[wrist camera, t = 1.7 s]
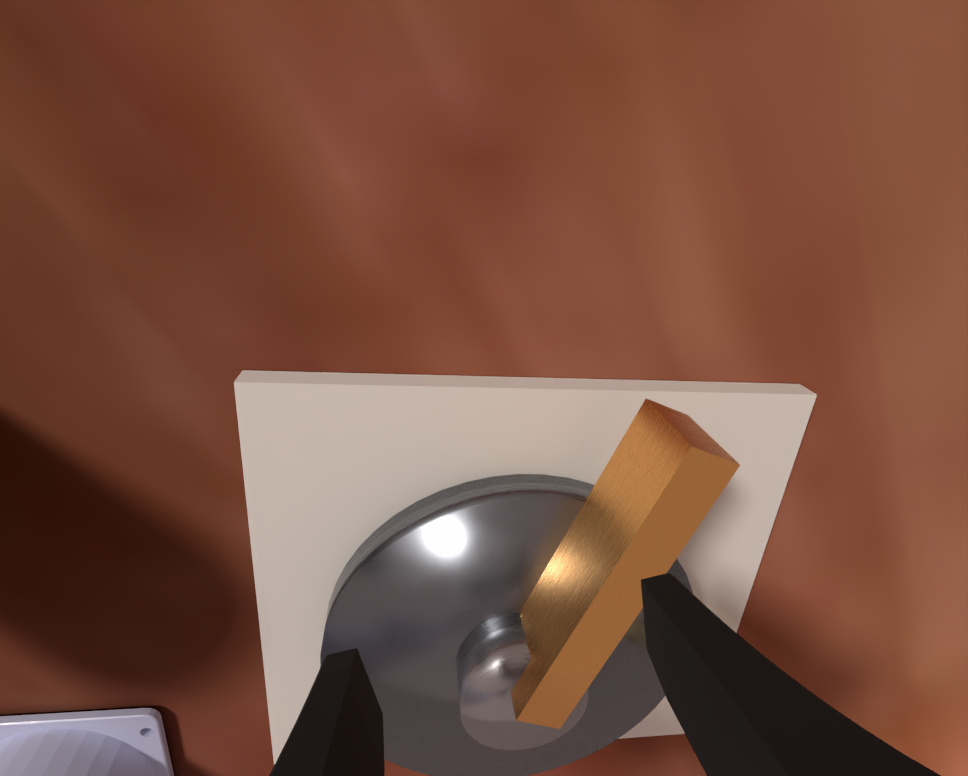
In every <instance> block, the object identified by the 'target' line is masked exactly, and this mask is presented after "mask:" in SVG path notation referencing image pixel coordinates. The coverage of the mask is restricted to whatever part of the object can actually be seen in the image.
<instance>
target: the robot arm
mask: <svg viewBox="0 0 968 776" xmlns="http://www.w3.org/2000/svg"><path fill="white" fill-rule="evenodd" d="M641 590H642V601H643V613H644V624H645V635H646V647H647V651H648V654H649V656H650V659H651V661H652V664H653V666H654V669H655V671H656V674H657V676H658V679H659V681H660V683H661V686H662V688H663V691H664V693H665V696H666V698H667V700H668V702H669V704H670V706H671V708H672V710H673V712H674V714H675V716H676V717H677V719H678V721H679V723H680V725H681V727H682V729H683V731H684V733H685V735H686V737H687V738H688V740H689V742H690V744H691V746H692V748H693V750H694V752H695V754H696V755H697V757H698V759H699V761H700V763H701V765H702V767H703V769H704V771H705V772H706V774H707V776H940V775H939V774H937V773H935V772H934V771H932V770H930V769H928V768H927V767H925V766H923V765H921V764H920V763H918V762H916V761H915V760H913V759H911V758H909V757H908V756H906V755H904V754H903V753H901V752H899V751H898V750H896V749H895V748H893V747H892V746H890V745H888V744H887V743H885V742H884V741H882V740H881V739H879V738H878V737H876V736H874V735H873V734H871V733H870V732H868V731H867V730H865V729H863V728H862V727H861V726H859V725H858V724H856V723H855V722H853V721H852V720H850V719H849V718H847V717H846V716H844V715H843V714H841V713H840V712H838V711H837V710H835V709H834V708H833V707H831V706H830V705H828V704H827V703H825V702H824V701H823V700H821V699H820V698H818V697H817V696H816V695H814V694H813V693H812V692H810V691H809V690H807V689H806V688H805V687H803V686H802V685H801V684H799V683H798V682H797V681H796V680H794V679H793V678H792V677H790V676H789V675H788V674H786V673H785V672H784V671H782V670H781V669H780V668H779V667H777V666H776V665H775V664H773V663H772V662H771V661H770V660H768V659H767V658H766V657H765V656H763V655H762V654H761V653H760V652H759V651H757V650H756V649H755V648H754V647H753V646H751V645H750V644H749V643H748V642H747V641H745V640H744V639H743V638H742V637H741V636H739V635H738V634H737V633H736V632H735V631H733V630H732V629H731V628H730V627H729V626H728V625H727V624H725V623H724V622H723V621H722V620H721V619H720V618H719V617H718V616H716V615H715V614H714V613H713V612H712V611H711V610H710V609H709V608H707V607H706V606H705V605H704V604H703V603H702V602H701V601H700V600H699V599H698V598H697V597H696V596H695V595H693V594H692V593H691V592H690V591H689V590H688V589H687V588H686V587H685V586H684V585H683V584H682V583H681V582H680V581H679V580H678V579H677V578H676V577H675V576H673V575H672V574H670V573H666V574H662V575H657V576H653V577H649V578H645V579H641ZM0 776H174V773H173V768H172V764H171V759H170V754H169V750H168V745H167V740H166V736H165V731H164V726H163V722H162V717H161V714H160V712H159V711H157V710H156V709H153V708H133V709H116V710H99V711H82V712H65V713H48V714H31V715H14V716H0ZM269 776H384V731H383V713H382V710H381V708H380V705H379V703H378V700H377V698H376V695H375V693H374V690H373V687H372V685H371V682H370V680H369V677H368V675H367V672H366V670H365V667H364V665H363V662H362V660H361V657H360V654H359V652H358V649H357V648H354V649H350V650H346V651H341V652H337V653H333V654H329V655H327V656H326V658H325V659H324V660H323V663H322V665H321V667H320V670H319V672H318V674H317V676H316V679H315V681H314V683H313V686H312V688H311V690H310V692H309V695H308V697H307V699H306V701H305V703H304V706H303V708H302V710H301V712H300V714H299V716H298V718H297V721H296V723H295V725H294V727H293V729H292V731H291V733H290V735H289V737H288V739H287V741H286V743H285V745H284V747H283V749H282V751H281V753H280V755H279V757H278V759H277V761H276V763H275V765H274V767H273V769H272V771H271V773H270V775H269Z"/></svg>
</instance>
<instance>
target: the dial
mask: <svg viewBox="0 0 968 776" xmlns="http://www.w3.org/2000/svg"><path fill="white" fill-rule="evenodd" d="M739 466H740V464H739V463H738V462H737V461H736V460H735V459H734V458H733V457H731V456H730V455H729V454H728V453H727V452H726V451H725V450H724V449H723V448H722V447H721V446H720V445H719V444H718V443H717V442H716V441H715V440H714V439H713V438H712V437H711V436H709V435H708V434H707V433H706V432H705V431H704V430H703V429H702V428H701V427H700V426H699V425H698V424H697V423H696V422H695V421H694V420H693V419H692V418H691V417H690V416H689V415H687V414H684V413H682V412H679V411H677V410H674V409H672V408H669V407H667V406H664V405H661V404H659V403H656V402H654V401H651V400H649V399H645V401H644V402H643V404H642V406H641V408H640V409H639V411H638V413H637V414H636V416H635V418H634V419H633V421H632V423H631V424H630V426H629V428H628V430H627V431H626V433H625V435H624V436H623V438H622V440H621V441H620V443H619V445H618V446H617V448H616V450H615V452H614V453H613V455H612V457H611V458H610V460H609V462H608V463H607V465H606V467H605V468H604V470H603V472H602V474H601V475H600V477H599V479H598V480H597V482H596V484H595V485H593V484H590V483H587V482H583V481H579V480H575V479H571V478H567V477H559V476H552V475H545V474H513V475H502V476H492V477H487V478H483V479H478V480H473V481H468V482H465V483H462V484H459V485H456V486H452V487H449V488H446V489H443V490H440V491H438V492H436V493H434V494H432V495H430V496H427V497H425V498H423V499H421V500H419V501H417V502H415V503H413V504H412V505H410V506H408V507H407V508H405V509H403V510H402V511H400V512H399V513H397V514H395V515H394V516H393V517H391V518H390V519H389V520H388V521H386V522H385V523H384V524H382V525H381V526H380V527H379V528H377V529H376V530H375V531H374V532H373V533H372V534H371V535H370V536H369V537H368V538H367V539H366V540H365V541H364V542H363V543H362V544H361V545H360V546H359V547H358V549H357V550H356V552H355V553H354V554H353V556H352V557H351V558H350V560H349V561H348V562H347V564H346V565H345V567H344V569H343V571H342V572H341V574H340V576H339V578H338V580H337V582H336V584H335V587H334V590H333V593H332V595H331V598H330V601H329V606H328V612H327V618H326V623H325V629H324V635H323V641H322V647H321V653H320V665H322V663H323V660H324V659H325V658H326V656H327V655H329V654H333V653H337V652H341V651H346V650H350V649H354V648H357V649H358V652H359V654H360V657H361V660H362V662H363V665H364V667H365V670H366V672H367V675H368V677H369V680H370V682H371V685H372V687H373V690H374V693H375V695H376V698H377V700H378V703H379V705H380V708H381V710H382V713H383V731H384V759H385V760H388V761H390V762H392V763H394V764H397V765H399V766H401V767H404V768H407V769H410V770H413V771H416V772H419V773H423V774H428V775H432V776H526V775H530V774H535V773H539V772H543V771H547V770H550V769H554V768H557V767H560V766H563V765H566V764H569V763H571V762H574V761H576V760H578V759H581V758H583V757H585V756H588V755H590V754H592V753H594V752H596V751H597V750H599V749H601V748H603V747H605V746H607V745H609V744H610V743H612V742H613V741H615V740H616V739H618V738H620V737H621V736H623V735H624V734H626V733H627V732H628V731H629V730H631V729H632V728H633V727H635V726H636V725H637V724H638V723H640V722H641V721H642V720H643V719H644V718H645V717H646V716H647V715H648V714H649V713H650V712H651V711H653V710H654V709H655V708H656V706H657V705H658V704H659V703H660V702H661V701H662V699H663V698H664V697H665V693H664V691H663V688H662V686H661V683H660V681H659V679H658V676H657V674H656V671H655V669H654V666H653V664H652V661H651V659H650V656H649V654H648V651H647V647H646V635H645V624H644V613H643V601H642V590H641V579H645V578H649V577H653V576H657V575H662V574H666V573H670V574H672V575H673V576H675V577H676V578H677V579H678V580H679V581H680V582H681V583H682V584H683V585H684V586H685V587H686V588H687V589H688V590H689V591H690V592H691V593H692V594H693V591H692V588H691V585H690V583H689V580H688V577H687V575H686V572H685V571H684V569H683V567H682V566H681V564H680V563H679V561H678V559H677V557H678V556H679V554H680V553H681V551H682V550H683V548H684V547H685V545H686V544H687V542H688V541H689V540H690V538H691V537H692V535H693V534H694V532H695V531H696V529H697V528H698V526H699V525H700V523H701V522H702V521H703V519H704V518H705V516H706V515H707V513H708V512H709V510H710V509H711V507H712V506H713V504H714V503H715V502H716V500H717V499H718V497H719V496H720V494H721V493H722V491H723V490H724V488H725V487H726V485H727V484H728V482H729V481H730V480H731V478H732V477H733V475H734V474H735V472H736V471H737V469H738V468H739Z"/></svg>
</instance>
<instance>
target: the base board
mask: <svg viewBox="0 0 968 776" xmlns="http://www.w3.org/2000/svg"><path fill="white" fill-rule="evenodd" d="M234 388H235V398H236V407H237V417H238V427H239V436H240V446H241V455H242V465H243V474H244V484H245V493H246V503H247V512H248V522H249V531H250V541H251V550H252V560H253V569H254V579H255V588H256V598H257V607H258V617H259V626H260V636H261V645H262V655H263V664H264V674H265V683H266V693H267V702H268V712H269V721H270V731H271V740H272V750H273V759H274V765H275V763H276V761H277V759H278V757H279V755H280V753H281V751H282V749H283V747H284V745H285V743H286V741H287V739H288V737H289V735H290V733H291V731H292V729H293V727H294V725H295V723H296V721H297V718H298V716H299V714H300V712H301V710H302V708H303V706H304V703H305V701H306V699H307V697H308V695H309V692H310V690H311V688H312V686H313V683H314V681H315V679H316V676H317V674H318V672H319V670H320V667H321V665H320V653H321V647H322V641H323V635H324V629H325V623H326V618H327V612H328V606H329V601H330V598H331V595H332V593H333V590H334V587H335V584H336V582H337V580H338V578H339V576H340V574H341V572H342V571H343V569H344V567H345V565H346V564H347V562H348V561H349V560H350V558H351V557H352V556H353V554H354V553H355V552H356V550H357V549H358V547H359V546H360V545H361V544H362V543H363V542H364V541H365V540H366V539H367V538H368V537H369V536H370V535H371V534H372V533H373V532H374V531H375V530H376V529H377V528H379V527H380V526H381V525H382V524H384V523H385V522H386V521H388V520H389V519H390V518H391V517H393V516H394V515H395V514H397V513H399V512H400V511H402V510H403V509H405V508H407V507H408V506H410V505H412V504H413V503H415V502H417V501H419V500H421V499H423V498H425V497H427V496H430V495H432V494H434V493H436V492H438V491H440V490H443V489H446V488H449V487H452V486H456V485H459V484H462V483H465V482H468V481H473V480H478V479H483V478H487V477H492V476H502V475H513V474H545V475H552V476H559V477H567V478H571V479H575V480H579V481H583V482H587V483H590V484H593V485H595V484H596V482H597V480H598V479H599V477H600V475H601V474H602V472H603V470H604V468H605V467H606V465H607V463H608V462H609V460H610V458H611V457H612V455H613V453H614V452H615V450H616V448H617V446H618V445H619V443H620V441H621V440H622V438H623V436H624V435H625V433H626V431H627V430H628V428H629V426H630V424H631V423H632V421H633V419H634V418H635V416H636V414H637V413H638V411H639V409H640V408H641V406H642V404H643V402H644V401H645V399H649V400H651V401H654V402H656V403H659V404H661V405H664V406H667V407H669V408H672V409H674V410H677V411H679V412H682V413H684V414H687V415H689V416H690V417H691V418H692V419H693V420H694V421H695V422H696V423H697V424H698V425H699V426H700V427H701V428H702V429H703V430H704V431H705V432H706V433H707V434H708V435H709V436H711V437H712V438H713V439H714V440H715V441H716V442H717V443H718V444H719V445H720V446H721V447H722V448H723V449H724V450H725V451H726V452H727V453H728V454H729V455H730V456H731V457H733V458H734V459H735V460H736V461H737V462H738V463H739V464H740V466H739V468H738V469H737V471H736V472H735V474H734V475H733V477H732V478H731V480H730V481H729V482H728V484H727V485H726V487H725V488H724V490H723V491H722V493H721V494H720V496H719V497H718V499H717V500H716V502H715V503H714V504H713V506H712V507H711V509H710V510H709V512H708V513H707V515H706V516H705V518H704V519H703V521H702V522H701V523H700V525H699V526H698V528H697V529H696V531H695V532H694V534H693V535H692V537H691V538H690V540H689V541H688V542H687V544H686V545H685V547H684V548H683V550H682V551H681V553H680V554H679V556H678V557H677V559H678V561H679V563H680V564H681V566H682V567H683V569H684V571H685V572H686V575H687V577H688V580H689V583H690V585H691V588H692V591H693V595H695V596H696V597H697V598H698V599H699V600H700V601H701V602H702V603H703V604H704V605H705V606H706V607H707V608H709V609H710V610H711V611H712V612H713V613H714V614H715V615H716V616H718V617H719V618H720V619H721V620H722V621H723V622H724V623H725V624H727V625H728V626H729V627H730V628H731V629H732V630H733V631H735V632H736V633H737V630H738V627H739V624H740V621H741V618H742V615H743V612H744V609H745V606H746V603H747V600H748V597H749V594H750V591H751V588H752V585H753V582H754V580H755V577H756V574H757V571H758V568H759V565H760V562H761V559H762V556H763V553H764V550H765V547H766V544H767V541H768V538H769V535H770V532H771V529H772V526H773V523H774V520H775V517H776V514H777V511H778V509H779V506H780V503H781V500H782V497H783V494H784V491H785V488H786V485H787V482H788V479H789V476H790V473H791V470H792V467H793V464H794V461H795V458H796V455H797V452H798V449H799V446H800V443H801V441H802V438H803V435H804V432H805V429H806V426H807V423H808V420H809V417H810V414H811V411H812V408H813V405H814V402H815V399H816V396H817V394H815V393H813V392H812V391H810V390H808V389H807V388H805V387H803V386H802V385H800V384H779V383H738V382H697V381H656V380H615V379H575V378H534V377H493V376H452V375H411V374H370V373H329V372H288V371H247V370H242V372H241V373H240V375H239V376H238V377H237V379H236V380H235V381H234ZM675 734H685V733H684V731H683V729H682V727H681V725H680V723H679V721H678V719H677V717H676V716H675V714H674V712H673V710H672V708H671V706H670V704H669V702H668V700H667V698H666V696H665V697H664V698H663V699H662V701H661V702H660V703H659V704H658V705H657V706H656V708H655V709H654V710H653V711H651V712H650V713H649V714H648V715H647V716H646V717H645V718H644V719H643V720H642V721H641V722H640V723H638V724H637V725H636V726H635V727H633V728H632V729H631V730H629V731H628V732H627V733H626V734H624V735H623V736H621V737H620V738H618V739H621V738H635V737H648V736H661V735H675Z"/></svg>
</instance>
